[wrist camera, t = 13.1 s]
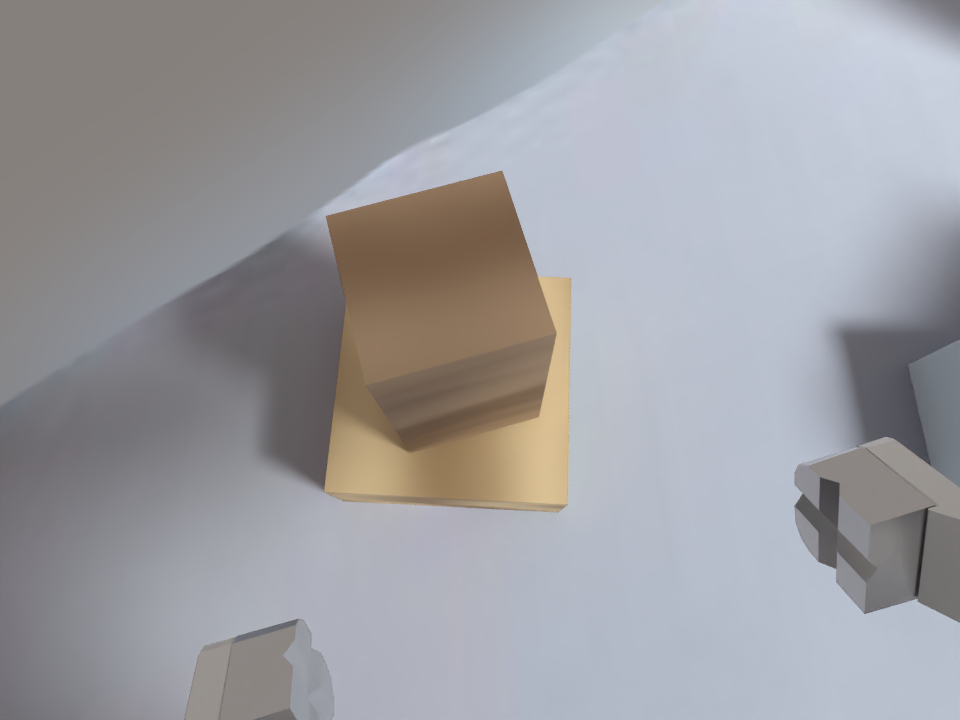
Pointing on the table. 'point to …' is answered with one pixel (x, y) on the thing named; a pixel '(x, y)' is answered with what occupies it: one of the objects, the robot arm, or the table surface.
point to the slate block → (940, 407)
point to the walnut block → (445, 310)
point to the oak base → (455, 442)
